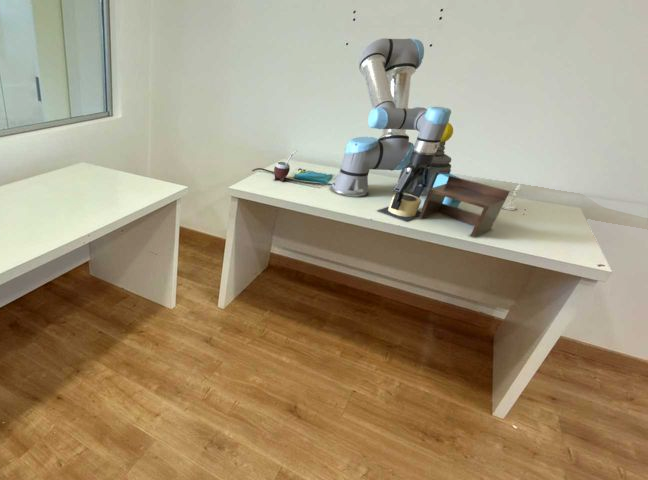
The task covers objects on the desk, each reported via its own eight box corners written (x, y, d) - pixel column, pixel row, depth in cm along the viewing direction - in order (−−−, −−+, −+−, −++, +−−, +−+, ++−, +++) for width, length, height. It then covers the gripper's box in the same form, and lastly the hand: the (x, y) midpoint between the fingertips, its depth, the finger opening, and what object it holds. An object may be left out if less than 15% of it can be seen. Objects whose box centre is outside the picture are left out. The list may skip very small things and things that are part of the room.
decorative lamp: (386, 184, 194) (409, 118, 178) (418, 181, 199) (442, 116, 183) (418, 198, 179) (446, 127, 163) (452, 194, 183) (482, 125, 167)
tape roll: (406, 218, 159) (412, 203, 155) (383, 210, 166) (388, 195, 163) (420, 213, 163) (426, 199, 160) (397, 205, 170) (402, 191, 167)
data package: (457, 210, 168) (470, 181, 161) (447, 210, 167) (459, 182, 161) (436, 199, 178) (448, 172, 171) (427, 199, 177) (438, 172, 171)
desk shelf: (418, 217, 160) (432, 181, 152) (435, 211, 166) (450, 175, 158) (473, 237, 146) (493, 197, 138) (490, 229, 152) (510, 191, 144)
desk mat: (377, 211, 166) (377, 210, 166) (397, 204, 172) (397, 203, 172) (406, 221, 157) (406, 220, 157) (425, 214, 164) (426, 213, 163)
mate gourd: (269, 178, 200) (275, 147, 192) (283, 176, 202) (289, 146, 194) (278, 183, 194) (284, 151, 186) (292, 181, 196) (298, 150, 188)
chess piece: (512, 206, 172) (524, 183, 166) (516, 210, 168) (529, 187, 162) (498, 204, 173) (510, 182, 168) (502, 209, 169) (514, 185, 164)
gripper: (415, 159, 143) (395, 214, 155) (451, 150, 155) (430, 202, 166) (395, 154, 149) (377, 208, 160) (431, 145, 160) (412, 196, 171)
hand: (404, 205), depth 163 cm, fingers open, 13 cm apart
